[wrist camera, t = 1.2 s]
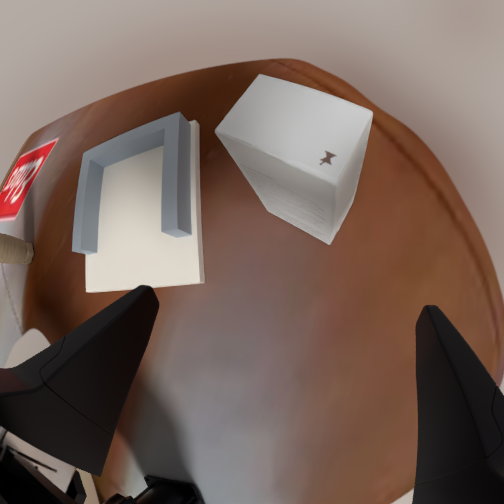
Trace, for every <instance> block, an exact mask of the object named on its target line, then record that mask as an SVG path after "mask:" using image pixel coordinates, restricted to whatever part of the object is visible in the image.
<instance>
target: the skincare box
mask: <svg viewBox="0 0 504 504" xmlns="http://www.w3.org/2000/svg"><path fill="white" fill-rule="evenodd" d="M372 116H373V113H372V111H371V110H369V109H366V108H364V107H361V106H359V105H356V104H354V103H351V102H349V101H346V100H344V99H341V98H338V97H336V96H333V95H330V94H327V93H324V92H321V91H318V90H315V89H312V88H309V87H306V86H303V85H299V84H296V83H292V82H289V81H285V80H282V79H278V78H274V77H270V76H266V75H262V74H259V75H258V76H257V78H256V79H255V80H254V81H253V83H252V84H251V85H250V86H249V87H248V89H247V90H246V91H245V93H244V94H243V95H242V96H241V98H240V99H239V100H238V101H237V102H236V104H235V105H234V106H233V107H232V109H231V110H230V111H229V113H228V114H227V115H226V116H225V118H224V119H223V120H222V122H221V123H220V124H219V125H218V127H217V128H216V129H215V133H216V135H217V136H218V138H219V139H220V141H221V142H222V143H223V145H224V147H225V148H226V149H227V151H228V152H229V154H230V155H231V157H232V158H233V160H234V161H235V163H236V164H237V166H238V167H239V168H240V170H241V171H242V173H243V174H244V176H245V177H246V179H247V181H248V182H249V183H250V185H251V186H252V188H253V189H254V191H255V192H256V194H257V195H258V197H259V198H260V200H261V202H262V203H263V205H264V206H265V208H266V209H267V211H268V212H270V213H272V214H274V215H276V216H278V217H279V218H281V219H283V220H285V221H287V222H289V223H291V224H292V225H294V226H296V227H298V228H300V229H302V230H303V231H305V232H307V233H309V234H311V235H312V236H314V237H316V238H318V239H320V240H321V241H323V242H325V243H327V244H329V245H330V244H331V242H332V241H333V239H334V237H335V235H336V233H337V232H338V230H339V228H340V226H341V224H342V222H343V221H344V219H345V217H346V215H347V213H348V211H349V209H350V207H351V205H352V203H353V200H354V196H355V192H356V189H357V185H358V181H359V177H360V173H361V169H362V164H363V160H364V156H365V151H366V147H367V142H368V137H369V132H370V128H371V123H372Z"/></svg>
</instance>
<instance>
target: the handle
mask: <svg viewBox="0 0 504 504" xmlns="http://www.w3.org/2000/svg"><path fill="white" fill-rule="evenodd" d="M33 255H34V251H33V245H32V244H31V243H29V242H26V243H25V242H24V241H22V240H20V239H18V238H15V237H13V236H9V235H6V234H1V233H0V262H1V263H7V264H30V263H31V262H32V257H33Z"/></svg>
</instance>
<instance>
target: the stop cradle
mask: <svg viewBox="0 0 504 504" xmlns="http://www.w3.org/2000/svg"><path fill="white" fill-rule="evenodd" d="M72 251H74V252H78V253H83V254H86V292H106V291H119V290H132V289H135V288H136V287H138V286H139V285H149V286H151V287H152V288H156V287H167V286H178V285H188V284H199V283H205V276H204V261H203V244H202V223H201V198H200V148H199V124H198V122H197V121H196V120H194V121H190V122H188V121H187V120H186V118H185V117H184V116H183V115H182V114H181V112H177V113H174V114H171V115H169V116H166V117H163V118H160V119H158V120H155V121H152V122H150V123H147V124H145V125H142V126H140V127H137V128H135V129H133V130H130V131H128V132H126V133H123V134H121V135H119V136H117V137H115V138H112V139H110V140H108V141H106V142H104V143H102V144H100V145H98V146H96V147H94V148H92V149H90V150H88V151H86V152H84V154H83V159H82V164H81V170H80V176H79V182H78V189H77V197H76V205H75V215H74V226H73V242H72Z"/></svg>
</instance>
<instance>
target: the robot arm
mask: <svg viewBox="0 0 504 504" xmlns="http://www.w3.org/2000/svg"><path fill="white" fill-rule="evenodd" d="M158 310H159V301H158V299H157V296H156V294H155V292H154V290H153V288H152V287H151V286H149V285H139V286H138V287H136V288H135V289H133V290H132V291H130V292H129V293H127V294H126V295H124V296H123V297H121V298H120V299H118V300H116V301H115V302H113V303H112V304H110V305H109V306H107V307H106V308H105V309H103V310H102V311H100V312H99V313H97V314H96V315H94V316H93V317H91V318H90V319H88V320H87V321H85V322H84V323H82V324H81V325H80V326H78V327H77V328H75V329H74V330H72V331H71V332H69V333H68V334H67V335H66V336H64V337H62V338H61V339H59V340H58V341H57V342H55V343H54V344H52V345H51V346H49V347H48V348H46V349H44V350H43V351H41V352H40V353H38V354H36V355H35V356H33V357H32V358H30V359H28V360H26V361H25V362H23V363H22V364H20V365H18V366H16V367H13V368H7V369H4V368H0V504H84V501H85V499H86V497H87V496H86V493H85V490H84V487H83V484H82V481H81V478H80V474H79V472H78V471H77V470H76V468H79V469H81V470H84V471H86V472H88V473H91V474H94V475H96V476H99V477H100V476H101V474H102V471H103V468H104V464H105V461H106V458H107V455H108V452H109V448H110V445H111V442H112V439H113V436H114V433H115V430H116V427H117V424H118V421H119V418H120V415H121V413H122V410H123V407H124V404H125V402H126V399H127V396H128V393H129V391H130V388H131V385H132V383H133V380H134V378H135V375H136V372H137V370H138V367H139V365H140V362H141V360H142V357H143V355H144V352H145V350H146V347H147V345H148V342H149V339H150V336H151V332H152V329H153V326H154V322H155V319H156V316H157V313H158ZM416 383H417V400H418V449H417V466H416V478H415V486H414V494H413V502H412V504H504V395H503V393H502V392H501V390H500V389H499V387H498V386H496V383H495V381H494V380H493V378H492V377H491V375H490V374H489V372H488V371H487V369H486V368H485V367H484V365H483V364H482V362H481V361H480V360H479V358H478V357H477V355H476V354H475V353H474V351H473V350H472V349H471V347H470V346H469V345H468V343H467V342H466V341H465V339H464V338H463V337H462V336H461V334H460V333H459V332H458V330H457V329H456V328H455V327H454V326H453V324H452V323H451V322H450V321H449V319H448V318H447V317H446V316H445V315H444V313H443V312H442V311H441V310H440V309H439V307H438V306H436V305H425V306H424V307H423V309H422V311H421V314H420V316H419V318H418V320H417V323H416ZM144 479H145V481H146V484H147V486H148V487H147V488H146V489H145V490H144V491H143V492H142V493H140V494H139V495H138V496H137V497H136V498H133V497H132V496H128V497H124V496H122V495H120V494H118V493H117V494H115V495H113V496H112V497H110V498H109V499H108V500H106V501H105V502H104V503H103V504H202V502H201V500H200V498H199V496H198V493H197V491H196V488H195V486H194V485H193V484H190V483H185V482H179V481H173V480H168V479H163V478H158V477H154V476H150V475H146V476H145V477H144ZM190 487H191V488H190Z"/></svg>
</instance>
